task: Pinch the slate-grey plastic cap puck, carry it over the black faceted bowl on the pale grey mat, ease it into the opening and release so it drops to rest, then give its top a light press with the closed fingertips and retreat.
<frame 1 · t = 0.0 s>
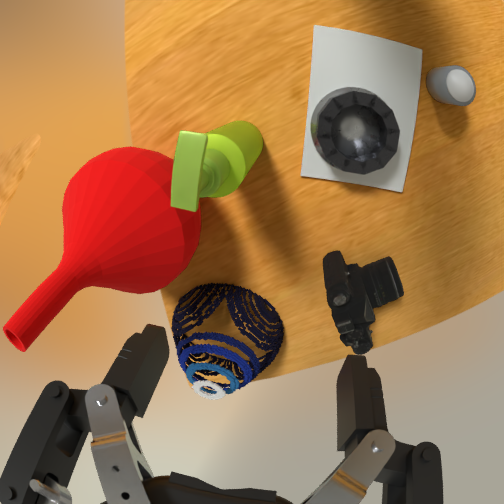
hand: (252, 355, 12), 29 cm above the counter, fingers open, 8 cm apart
decorative bowl: (229, 326, 53), on the counter
vase: (158, 196, 42), on the counter
cap: (442, 85, 27), on the counter
black faceted bowl: (354, 129, 32), resting on mat
mat: (364, 108, 31), on the counter
soap dispenser: (241, 138, 36), on the counter
camera: (362, 279, 44), on the counter
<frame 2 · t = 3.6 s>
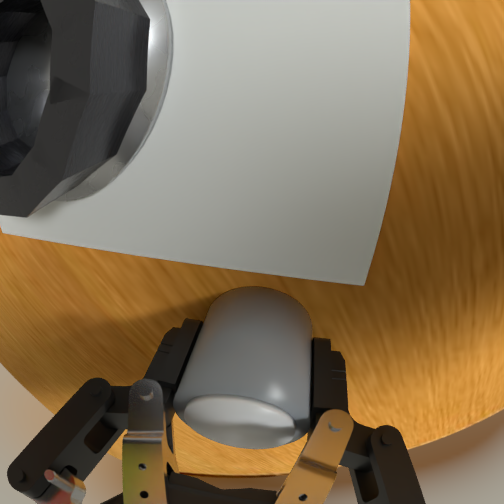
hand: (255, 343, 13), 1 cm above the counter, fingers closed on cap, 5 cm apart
cap: (258, 329, 14), on the counter, touching gripper
black faceted bowl: (56, 76, 8), resting on mat
mat: (116, 86, 9), on the counter
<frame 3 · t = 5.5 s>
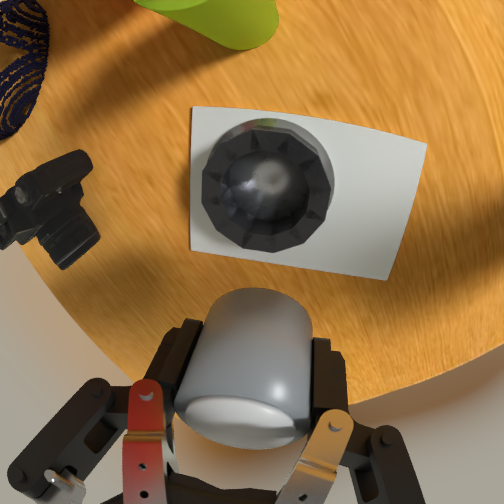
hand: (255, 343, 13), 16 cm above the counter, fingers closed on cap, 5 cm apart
decorative bowl: (5, 68, 21), on the counter
cap: (259, 329, 14), point 15 cm above the counter, touching gripper
black faceted bowl: (269, 181, 25), resting on mat
mat: (302, 196, 25), on the counter
soap dispenser: (249, 20, 18), on the counter
camera: (71, 206, 30), on the counter
when the fingers open (4 cm above the counter, at t = 7.4 s): cap drops 2 cm, resting on black faceted bowl.
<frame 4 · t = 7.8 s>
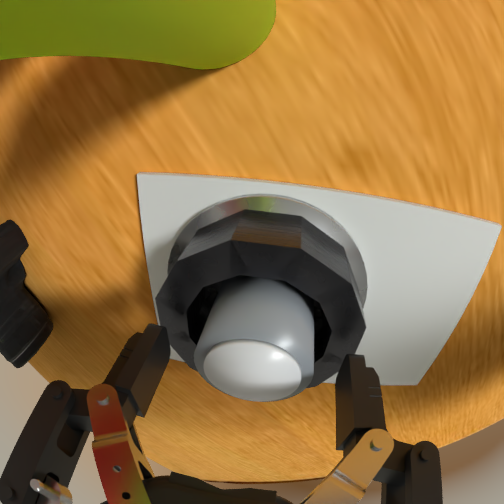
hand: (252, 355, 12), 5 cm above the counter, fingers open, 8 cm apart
cap: (266, 296, 16), point 1 cm above the counter, touching black faceted bowl
black faceted bowl: (265, 290, 16), resting on mat
mat: (316, 305, 17), on the counter
soap dispenser: (222, 14, 10), on the counter
camera: (19, 282, 22), on the counter
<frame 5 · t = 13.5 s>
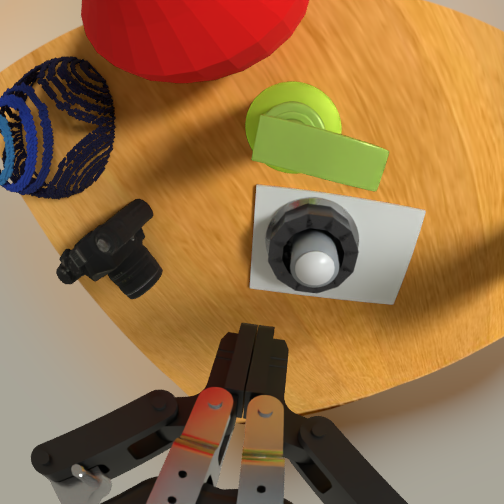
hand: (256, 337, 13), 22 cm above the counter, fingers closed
decorative bowl: (61, 127, 32), on the counter
vase: (221, 9, 23), on the counter
cap: (313, 243, 34), point 1 cm above the counter, touching black faceted bowl
black faceted bowl: (312, 241, 34), resting on mat
mat: (335, 250, 35), on the counter
soap dispenser: (300, 116, 28), on the counter
camera: (129, 244, 39), on the counter
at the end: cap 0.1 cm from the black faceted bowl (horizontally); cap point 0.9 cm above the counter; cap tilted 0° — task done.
